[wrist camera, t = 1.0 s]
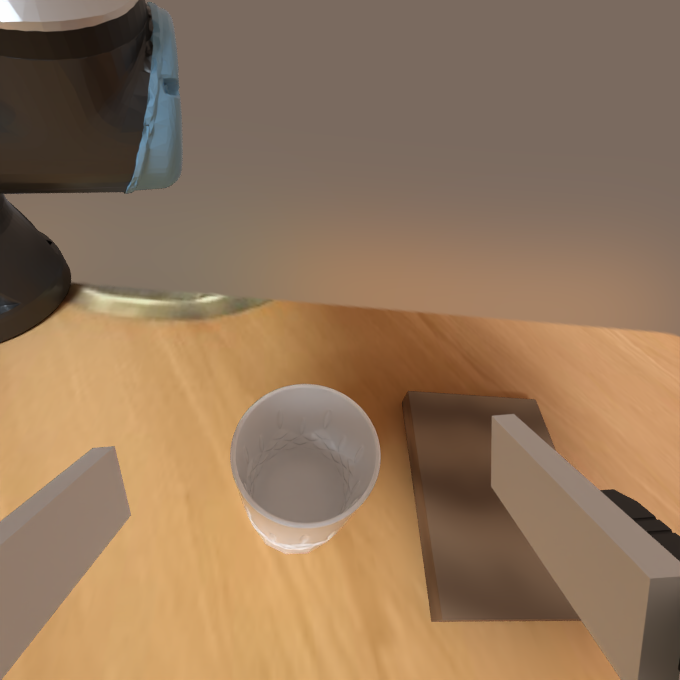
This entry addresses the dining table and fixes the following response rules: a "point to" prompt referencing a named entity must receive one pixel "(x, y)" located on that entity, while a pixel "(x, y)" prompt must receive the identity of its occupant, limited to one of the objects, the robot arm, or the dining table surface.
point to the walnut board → (473, 514)
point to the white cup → (303, 464)
